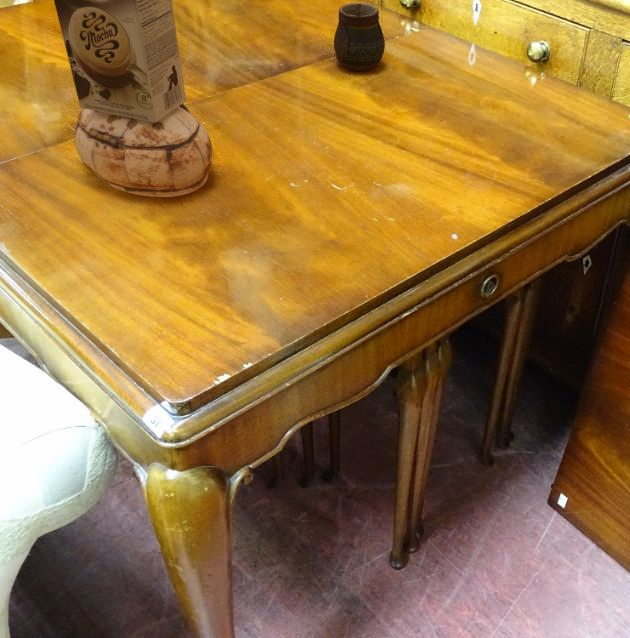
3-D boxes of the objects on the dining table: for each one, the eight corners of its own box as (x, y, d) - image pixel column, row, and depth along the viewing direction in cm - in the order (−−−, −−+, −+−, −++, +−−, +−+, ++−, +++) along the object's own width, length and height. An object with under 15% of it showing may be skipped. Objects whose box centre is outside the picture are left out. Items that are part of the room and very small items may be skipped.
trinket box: (205, 206, 81) (194, 136, 76) (59, 201, 80) (38, 131, 75) (228, 146, 91) (220, 81, 86) (99, 141, 90) (83, 76, 85)
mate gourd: (378, 54, 115) (379, -16, 109) (390, 74, 110) (391, 2, 103) (330, 57, 113) (328, -14, 107) (340, 77, 108) (338, 4, 101)
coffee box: (77, 109, 79) (34, -62, 69) (114, 86, 84) (79, -77, 73) (156, 125, 77) (123, -49, 67) (189, 100, 82) (164, -65, 72)
